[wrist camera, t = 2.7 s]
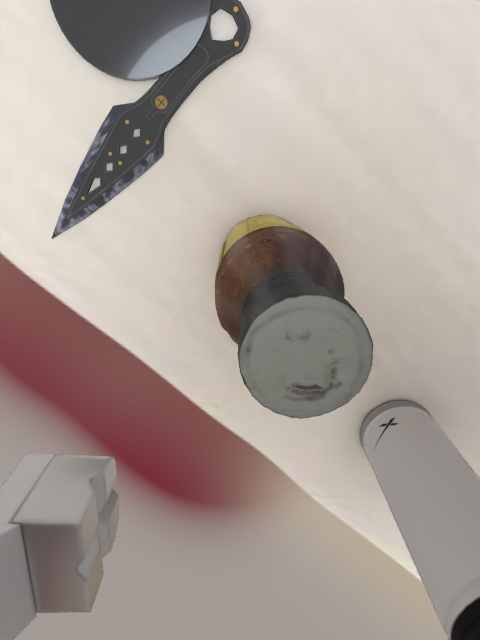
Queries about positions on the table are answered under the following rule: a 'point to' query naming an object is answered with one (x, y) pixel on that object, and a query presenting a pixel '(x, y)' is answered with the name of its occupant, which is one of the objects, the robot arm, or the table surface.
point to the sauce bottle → (290, 319)
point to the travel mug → (431, 508)
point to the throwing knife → (146, 123)
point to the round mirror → (133, 33)
